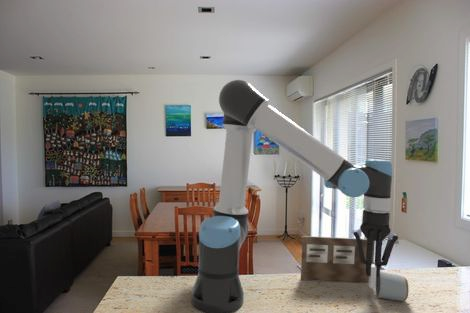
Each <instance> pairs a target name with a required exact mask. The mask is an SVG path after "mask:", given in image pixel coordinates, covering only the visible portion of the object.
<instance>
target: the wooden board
mask: <svg viewBox="0 0 470 313" xmlns="http://www.w3.org/2000/svg"><path fill="white" fill-rule="evenodd" d="M301 239H302V243H301V265H300V268H301V269H300V281H307V282H308V281H309V282H310V281H314V282H329V283H330V282H331V283H352V284H366V285H367V284H368V285H369V276H367V275H366V264H363V263H362V262H361V260H360V257H359V252H358V247H357V242H356V238H354V237H353V238H352V237H335V236H334V237H333V236H332V237H331V236H311V235H310V236H309V235H307V236H306V235H302V238H301ZM361 242H362V247H363V252H364V257H365V259H366V251H367V238H361ZM375 245H376V241H373V250H372V264H375Z"/></svg>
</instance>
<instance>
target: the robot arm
mask: <svg viewBox="0 0 470 313" xmlns="http://www.w3.org/2000/svg"><path fill="white" fill-rule="evenodd" d="M220 90H221V91H220V92H219V97H218V103H219V108H220V109H221V111H222V112H223V118H222V127H223V128H224V129H225V130H226V134H225V135H226V136H225V142H224V150H223V151H224V153H223V160H222V161H223V162H222V170H221V180H220V188H219V189H220V190H219V197H218V198H219V199H218V203H217V204H216V205H215V206H213V210H212V217H207V218H205V219H204V220H202V222H201V223H200V226H199V230H198V242H199V243H198V270H197V271H198V274H197V276H196V279H195V282H194V285H193V287H192V291H191V299H190V300H191V302H190V303H191V304H192V306H193V307H195V308H196V309H197V310H199V311H200V312H204V313H231V312H234V311H237V310H238V309H240V308H241V307H242V306H243V305H244V298H245V297H244V290H243V287H242V283H241V279H240V276H239V268H240V264H239V262H240V250H241V248H242V245H243V244H244V242H245V240H246V239H247V237H248V234H249V224H248V219H249V210H248V209H247V207H246V196H247V188H248V187H247V186H248V179H249V168H250V163H251V162H250V161H251V160H250V159H251V153H252V152H251V151H252V144H253V143H252V142H253V134H254V133H255V132H256V131H258V132H260V133H261V134H262V135H264V136H265V137H266V138H267V139H269V140H271V141H272V142H274V143H275V144H276V145H277V146H279V147H280V148H282V149H283V150H284V151H285V152H287V153H288V154H290V155H291V156H293V157H294V158H295V159H297V160H298V161H300V162H301V163H302V164H304V165H305V166H306V167H308V168H310V169H311V170H312V171H313V172H314V173H316V174H317V175H318V176H320V177H321V178H322V179H323V185H324V186H325V188H327V189H333V190H335V189H338V190H339V191H340V193H342V194H343V195H345V196H347V197H350V198H359V197H361V196H363V203H362V205H363V206H362V207H363V210H362V220H361V224H360V226H359V228H358V229H353V230H352V234H353V236H354V237H355V238H356V242H357V247H358V252H359V257H360V260H361V262H362V263H363V264H366V275H367V276H369V284H368V286H369V288H370V289H374V290H376V277H379V276H380V271H381V268H382V267H386V266H387V265H388V263H389V260H390V258H391V254H392V251H393V249H394V248H393V247H394V245H395V243H397V241H398V239H399V236H398V235H397V234H396V233H393V232H392V231H391V228H390V218H391V217H390V216H391V214H390V211H391V200H392V199H391V197H392V196H391V194H392V182H393V164H392V162H391V161H390V160H388V159H366V160H365V163H364V164H363V165H356V164H353V163H351V162H349V161H348V160H346V158H344V157H342V156H341V155H340V154H338V153H337V152H335V151H334V150H333V149H332V148H330V147H329V146H327V145H326V144H325V143H323V142H322V141H321V140H319V139H317V137H315V136H313V135H312V134H311V133H309V132H307V131H306V130H305V129H304V128H302V127H301V126H300V125H298V124H297V123H295V122H294V121H292V120H291V119H290V118H288V117H287V116H285V115H284V114H282V113H281V112H279V110H277V109H276V108H275V107H273V106H271V105H270V102H269V98H266V96H264V95H263V94H262V93H260V92H259V91H258V90H257V89H256V88H255V87H254V86H253V85H252V84H251V83H249V82H248V81H246V80H242V79H234V80H230V81H229V82H227V83H226V84H225V85H224V86H223V87H222V88H221V89H220ZM362 234H363V235H364V237H365V239H367V251H366V259H365V257H364V252H363V247H362V242H361V239H362V238H361V237H362ZM386 237H388V239H387V241H386V244H385V247H384V250H383V254H382V247H383V241H385V239H386ZM373 241H375V246H374V263H373V264H372V250H373Z"/></svg>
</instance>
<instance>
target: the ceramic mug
mask: <svg viewBox="0 0 470 313" xmlns="http://www.w3.org/2000/svg"><path fill="white" fill-rule="evenodd" d="M408 282H409V281H408V280H407V278H406V277H404V276H402V275H399V274H393V273H389V272H386V271H385V272H384V271H382V270H380V276H379V277H376V286H375V293H376V295H375V296H376V298H378V299H379V298H380V299H385V300H386V299H387V300H392V301H398V302H399V301H400V302H403V301H406V300H407V299H408V297H409V291H410V290H409V283H408Z"/></svg>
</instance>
